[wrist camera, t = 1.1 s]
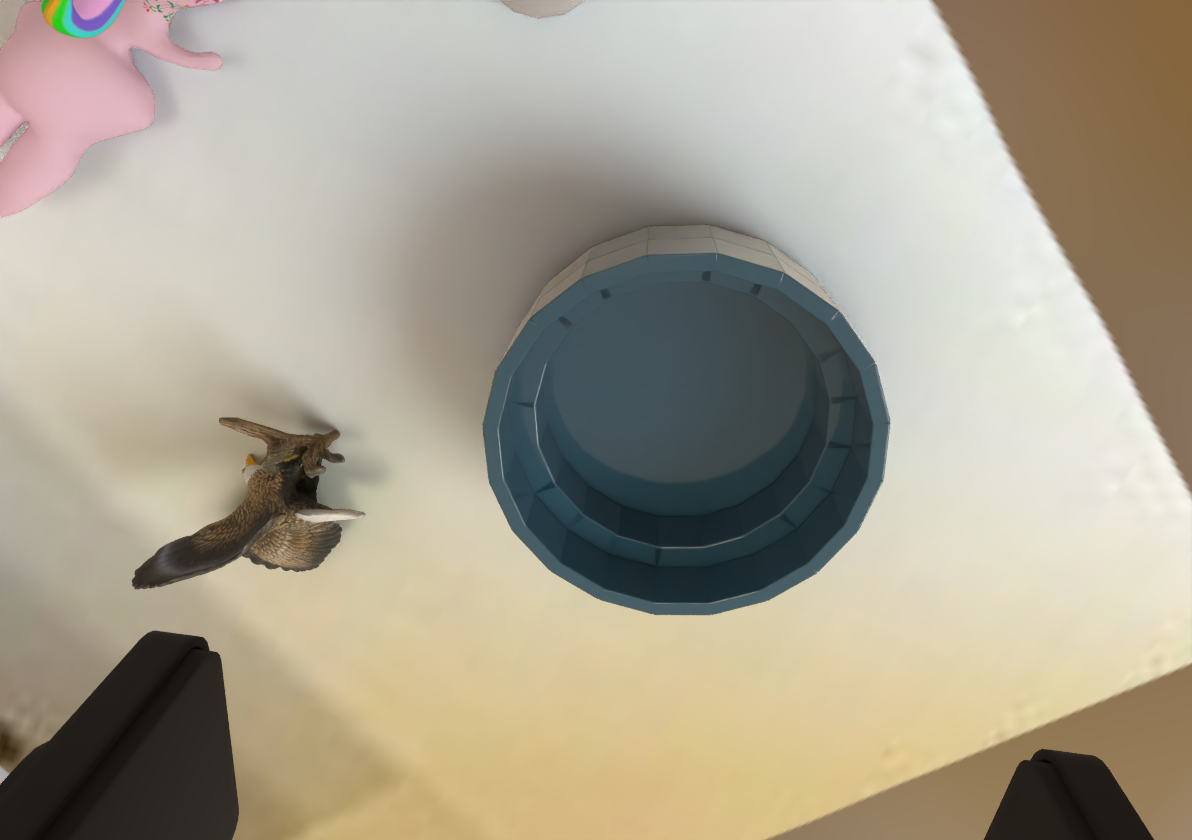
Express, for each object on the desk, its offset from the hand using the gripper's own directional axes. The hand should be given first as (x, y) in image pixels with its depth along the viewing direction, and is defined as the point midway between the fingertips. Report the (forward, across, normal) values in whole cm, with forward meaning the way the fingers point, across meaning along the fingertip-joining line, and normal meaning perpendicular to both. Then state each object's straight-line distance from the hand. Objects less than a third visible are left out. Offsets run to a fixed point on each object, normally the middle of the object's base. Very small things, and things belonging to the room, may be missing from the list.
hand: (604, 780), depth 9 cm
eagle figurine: (+24, +15, +12) cm, 31 cm away
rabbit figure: (+24, +20, -6) cm, 32 cm away
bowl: (+24, -2, +5) cm, 24 cm away
